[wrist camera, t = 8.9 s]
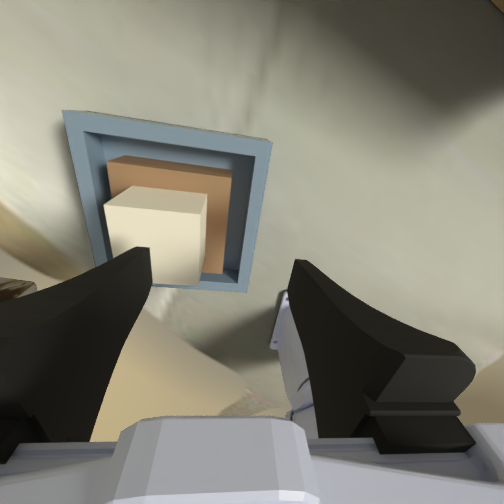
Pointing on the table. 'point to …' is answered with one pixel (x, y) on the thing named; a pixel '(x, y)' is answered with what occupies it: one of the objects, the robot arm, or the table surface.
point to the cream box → (161, 230)
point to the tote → (176, 150)
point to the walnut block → (182, 179)
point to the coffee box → (15, 288)
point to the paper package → (499, 4)
